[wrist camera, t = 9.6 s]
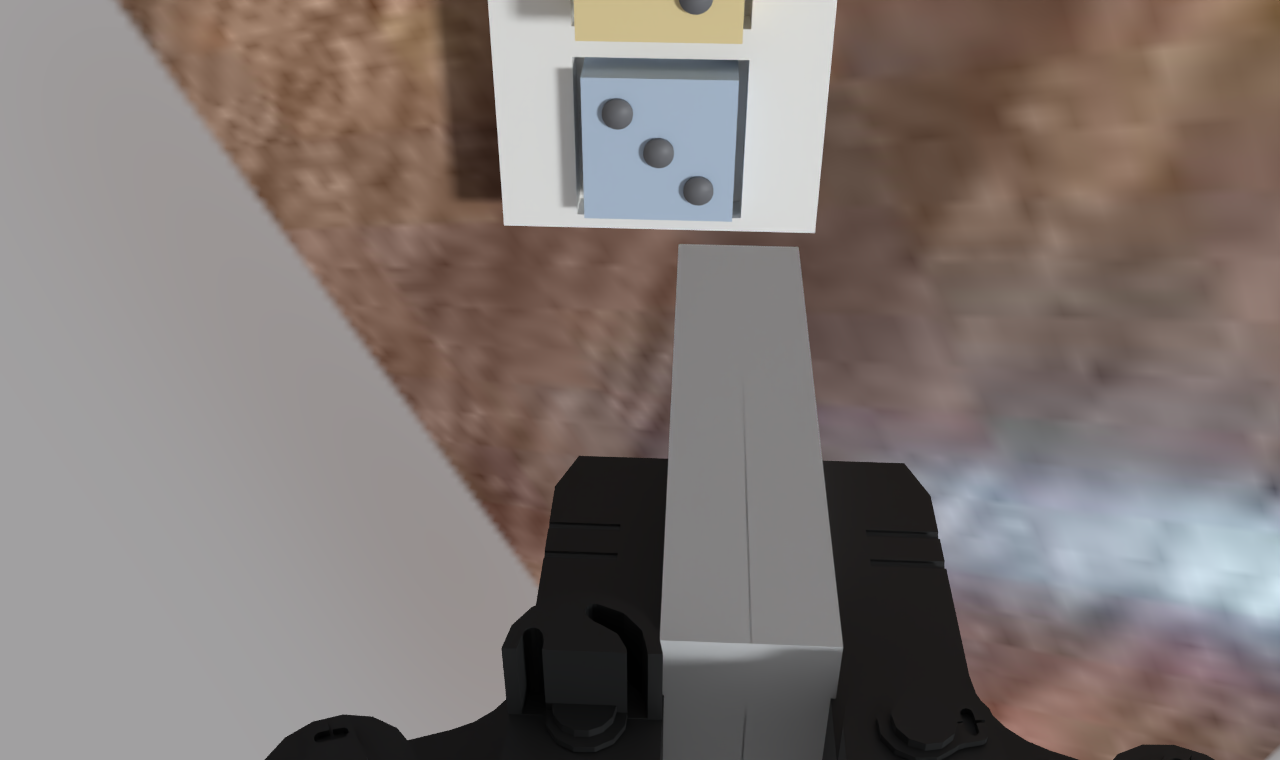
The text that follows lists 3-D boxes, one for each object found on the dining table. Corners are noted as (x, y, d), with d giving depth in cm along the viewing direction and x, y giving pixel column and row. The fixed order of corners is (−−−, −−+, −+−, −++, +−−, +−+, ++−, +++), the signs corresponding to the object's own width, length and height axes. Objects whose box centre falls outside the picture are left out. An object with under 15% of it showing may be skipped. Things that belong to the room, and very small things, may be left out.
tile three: (585, 53, 48) (579, 79, 46) (738, 55, 48) (739, 82, 46) (589, 189, 52) (584, 220, 50) (731, 193, 52) (732, 224, 50)
